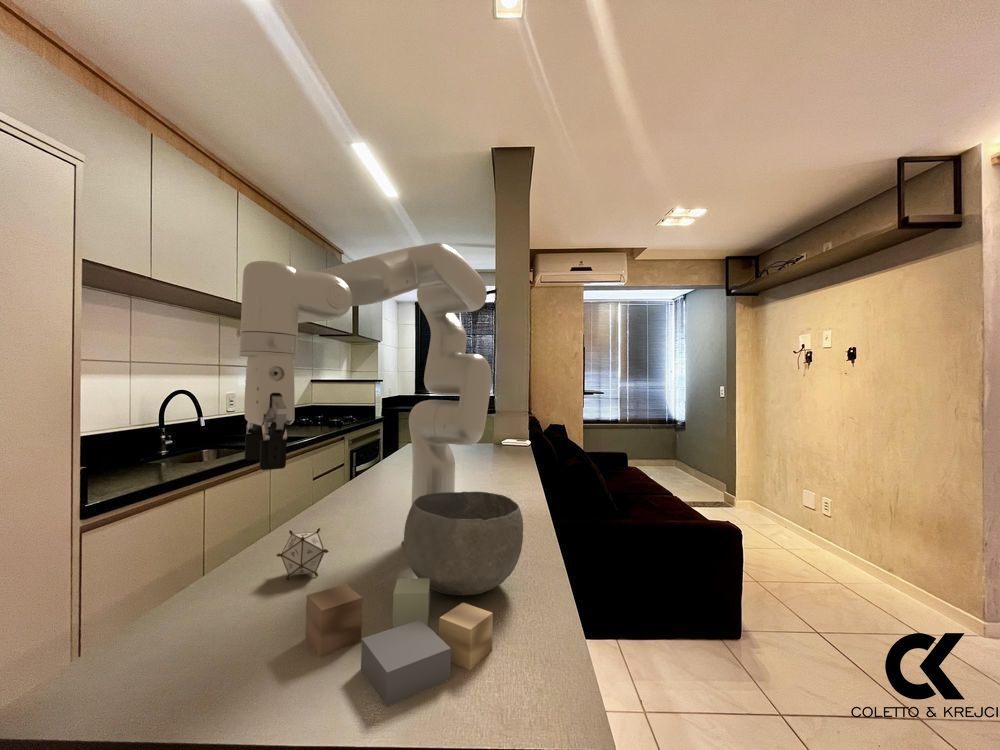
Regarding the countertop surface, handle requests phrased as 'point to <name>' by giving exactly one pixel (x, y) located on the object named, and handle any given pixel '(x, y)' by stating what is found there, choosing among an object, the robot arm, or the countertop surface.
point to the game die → (302, 553)
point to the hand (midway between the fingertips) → (264, 463)
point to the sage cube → (411, 601)
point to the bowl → (463, 540)
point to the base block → (405, 661)
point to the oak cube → (467, 634)
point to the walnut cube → (333, 619)
